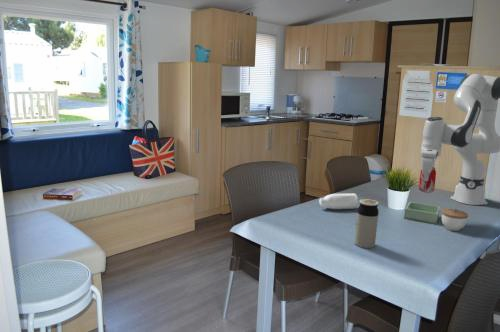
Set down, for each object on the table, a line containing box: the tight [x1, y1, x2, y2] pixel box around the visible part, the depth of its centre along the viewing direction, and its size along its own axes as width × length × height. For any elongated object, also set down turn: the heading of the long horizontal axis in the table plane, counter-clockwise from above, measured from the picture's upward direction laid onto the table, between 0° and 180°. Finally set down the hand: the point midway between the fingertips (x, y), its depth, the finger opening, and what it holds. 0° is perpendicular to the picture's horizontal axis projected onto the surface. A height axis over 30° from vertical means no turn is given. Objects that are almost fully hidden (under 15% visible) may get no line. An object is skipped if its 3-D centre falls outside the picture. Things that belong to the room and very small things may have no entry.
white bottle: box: [318, 192, 359, 210], centre depth 213 cm, size 8×19×8 cm, turn 101°
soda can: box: [418, 166, 437, 194], centre depth 202 cm, size 7×7×12 cm
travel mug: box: [353, 198, 380, 249], centre depth 166 cm, size 8×8×18 cm
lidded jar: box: [441, 208, 469, 232], centre depth 190 cm, size 11×11×9 cm
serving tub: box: [403, 201, 441, 225], centre depth 205 cm, size 14×14×5 cm
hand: (427, 179), depth 201 cm, fingers closed on soda can, 6 cm apart
